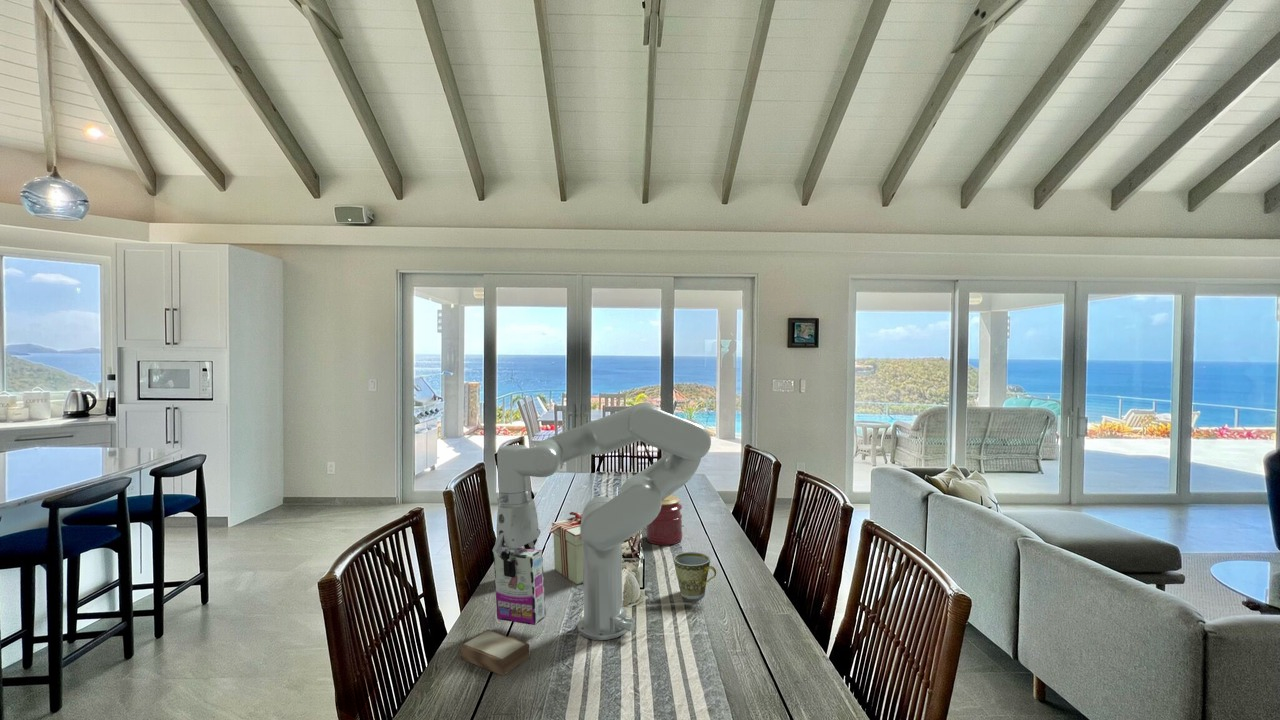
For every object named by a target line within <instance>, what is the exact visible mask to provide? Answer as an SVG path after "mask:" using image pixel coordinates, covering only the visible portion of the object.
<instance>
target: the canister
mask: <svg viewBox="0 0 1280 720" xmlns="http://www.w3.org/2000/svg"><path fill="white" fill-rule="evenodd" d="M682 508H683V506H682V504H680V498H678V497H677V496H675V495H674V494H671V495H669V496H668V497H666V498H665V499H664V500H662V505H661V510H660V512H659V514H658V516H657V517H656V519H655V520H654V521H653V522H652V523H650V524H649V525H648V526H646V527H645V528H646V529H645V530H646V531H645V536H646V541H647V542H648V543H650V544H653V545H657V546H672V545H675V544H678V543H680V542H682V540H683V526H682V525H683V524H682V523H683V519H682V518H683V515H682V513H681V512H682V511H681V510H682Z"/></svg>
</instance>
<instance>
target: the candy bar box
mask: <svg viewBox="0 0 1280 720" xmlns="http://www.w3.org/2000/svg"><path fill="white" fill-rule="evenodd" d="M508 553H509V550H508V549H507V554H508ZM543 559H544V558H543V550H542V549H536V548H535V549H525V548H523V547H522V548H517V549H514V554H513V560H515V574H516V575H515V577H514V578H512V577H508V576H505V575H504V563H503V560H501V558H500V557H499V556H498V555H496V554H495V553H493V566H494V568H493V569H494V581H495V582H494V584H495V601H496V616H497V617H496V619H497V620H500V621H506V622H511V623H519V624H524V625H525V624H526V625H532V626H537V624H539V623H540V622H541V621H542V620H543V619H546V615H547V614H546V597H545V582H544V580H545V579H544V566H543V565H544V562H543Z"/></svg>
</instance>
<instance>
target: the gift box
mask: <svg viewBox="0 0 1280 720" xmlns="http://www.w3.org/2000/svg"><path fill="white" fill-rule="evenodd" d="M568 514H569V515H570V516H572V517H570V518H567V519H563V520H558V521H555V522H554V521H553V522H551V527H550V530H549V534H553V553H554V554H553V557H554V559H553V560H554V571H556V572H557V573H559V574H561V575H562V576H563V577H565V578H567V579H568V580H569V581H570V582H572V583H574V584H575V585H580V584H583V540H582V538H581V533H580V526H581V518H582V513H579V512H574V511H571V512H569V513H568Z"/></svg>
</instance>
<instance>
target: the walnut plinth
mask: <svg viewBox="0 0 1280 720" xmlns="http://www.w3.org/2000/svg"><path fill="white" fill-rule="evenodd" d="M459 650H460V659H461V660H463V661H466V662H468V663H471V664H473V665H476V666H477V667H480V668H483V669H485V670H487V671H490V672H492V673H494V674H498V675H500V676H502V677H504V675H506V674H507V673H509V672H511V671H512V670H513V669H515V668H516V667H518V666H519V665H521V664H522V663H524V662H525V661H527V660H528V659H529V658H530V644H529V643H527V642H524V641H521V640H519V639H516V638H515V637H511V636H507V635H505V634H502V633H499V632H497V631H495V630H490V629H489V628H488V629H486V630H484V631H482V632H480V633H479V634H477V635H475V636H473V637H472V638H470V639H468V640H467V641H465V642H463V643H462V644H460V647H459Z"/></svg>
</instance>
